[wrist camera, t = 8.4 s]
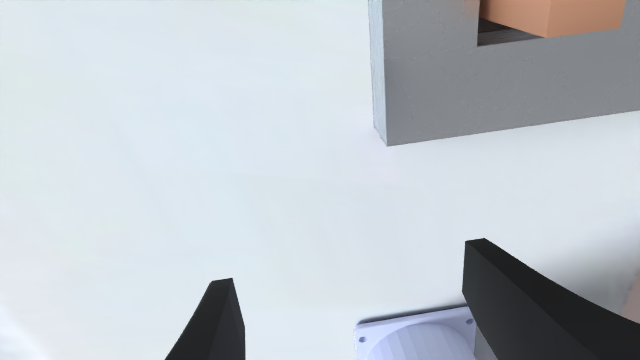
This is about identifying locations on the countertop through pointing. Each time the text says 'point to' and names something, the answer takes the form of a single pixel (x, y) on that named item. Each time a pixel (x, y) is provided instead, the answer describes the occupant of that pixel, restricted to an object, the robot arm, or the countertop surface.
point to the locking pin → (554, 15)
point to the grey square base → (491, 72)
